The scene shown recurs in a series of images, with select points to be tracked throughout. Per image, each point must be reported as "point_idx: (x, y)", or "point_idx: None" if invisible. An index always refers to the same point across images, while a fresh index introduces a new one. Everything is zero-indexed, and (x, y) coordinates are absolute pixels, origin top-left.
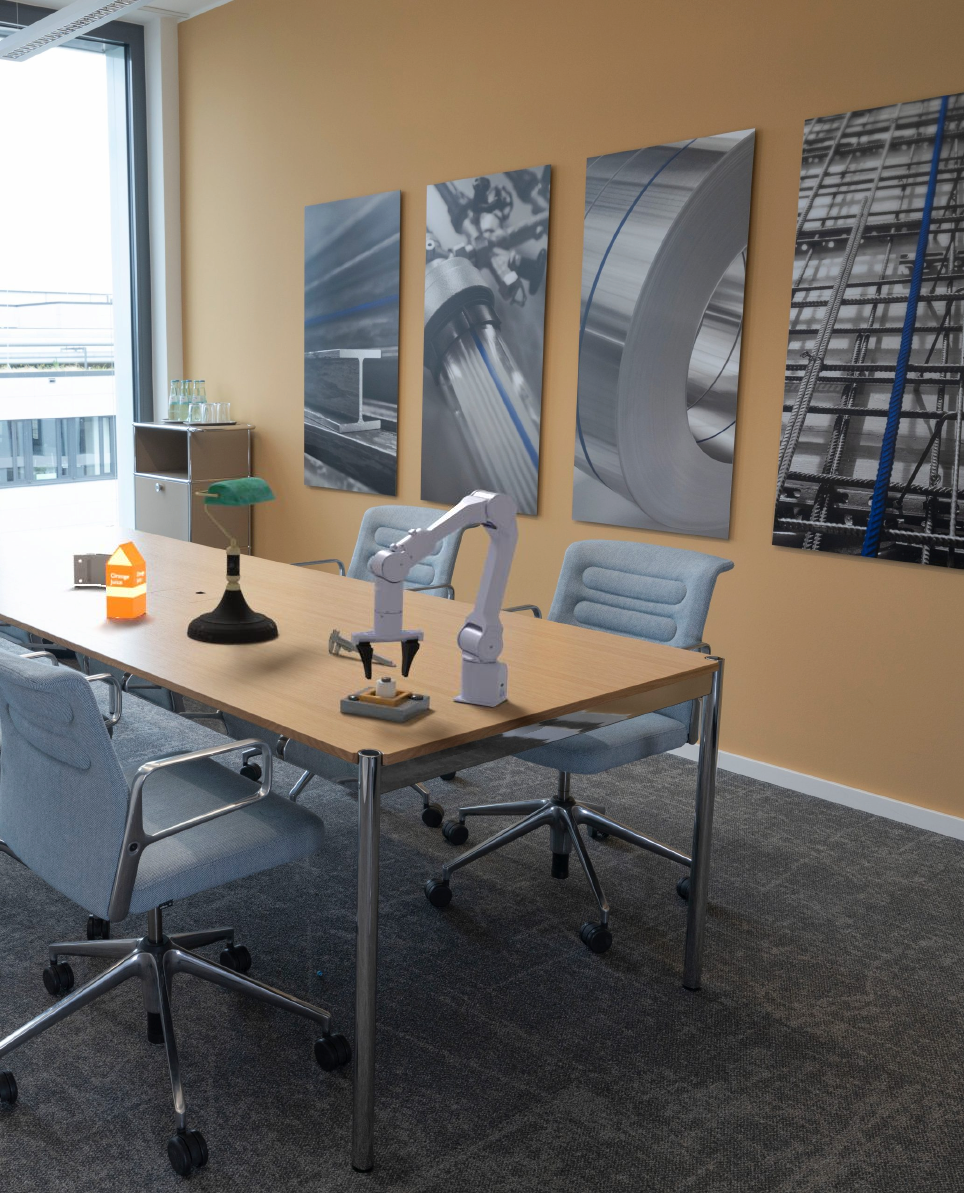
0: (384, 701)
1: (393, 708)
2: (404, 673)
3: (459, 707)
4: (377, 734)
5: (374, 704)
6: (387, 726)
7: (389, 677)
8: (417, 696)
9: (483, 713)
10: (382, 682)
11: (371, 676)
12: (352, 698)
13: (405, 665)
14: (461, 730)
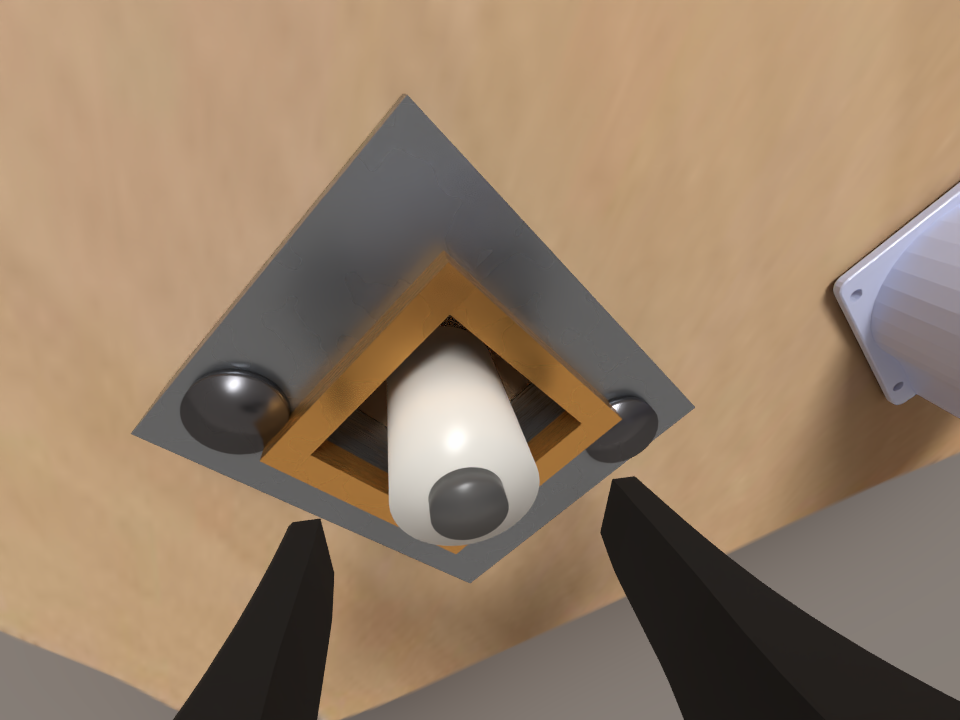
0: None
1: (435, 565)
2: (613, 549)
3: (781, 376)
4: (332, 627)
5: (354, 515)
6: (388, 565)
7: (503, 495)
8: (620, 443)
9: (799, 454)
10: (429, 519)
11: (330, 605)
12: (219, 448)
13: (650, 614)
14: (616, 591)
